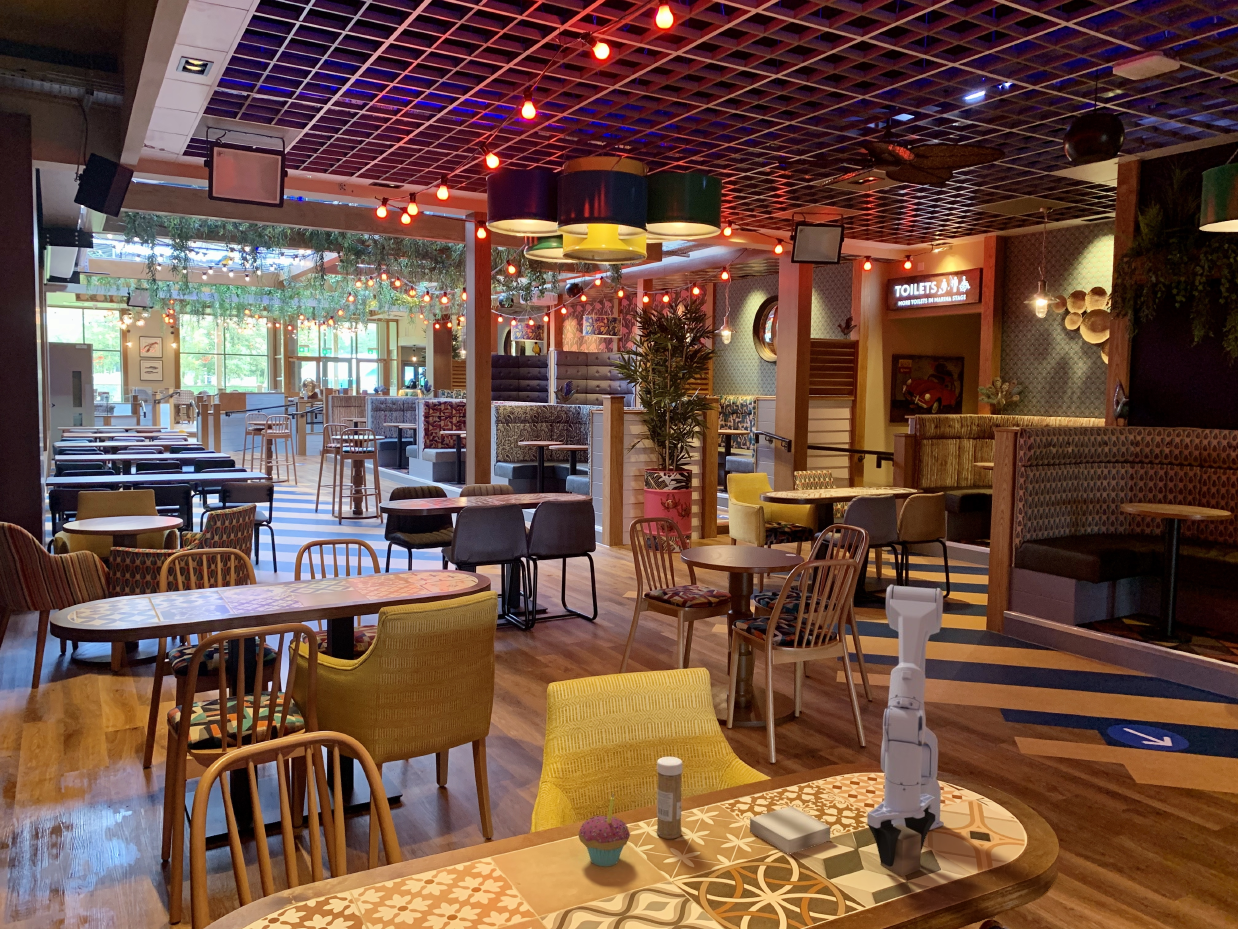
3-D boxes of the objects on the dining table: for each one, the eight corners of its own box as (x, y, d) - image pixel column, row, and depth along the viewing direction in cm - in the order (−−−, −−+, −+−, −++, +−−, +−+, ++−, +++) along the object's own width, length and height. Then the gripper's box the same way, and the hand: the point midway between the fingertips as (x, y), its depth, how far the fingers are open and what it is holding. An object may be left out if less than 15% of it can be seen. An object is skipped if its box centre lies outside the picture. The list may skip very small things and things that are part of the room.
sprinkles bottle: (686, 836, 162) (687, 762, 161) (666, 842, 159) (667, 767, 159) (671, 826, 166) (672, 753, 165) (650, 832, 163) (652, 758, 162)
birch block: (790, 821, 169) (790, 806, 169) (830, 843, 161) (830, 826, 161) (749, 834, 164) (750, 818, 164) (788, 857, 155) (788, 840, 155)
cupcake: (639, 860, 153) (640, 790, 152) (604, 878, 147) (605, 805, 146) (602, 843, 159) (603, 776, 158) (567, 860, 152) (568, 790, 152)
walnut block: (898, 858, 155) (899, 824, 154) (920, 869, 151) (921, 834, 151) (880, 865, 152) (881, 830, 152) (902, 876, 148) (903, 840, 148)
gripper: (892, 797, 143) (890, 880, 144) (951, 778, 151) (948, 857, 152) (858, 781, 149) (856, 862, 150) (916, 764, 157) (914, 840, 158)
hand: (900, 858), depth 151 cm, fingers open, 6 cm apart
